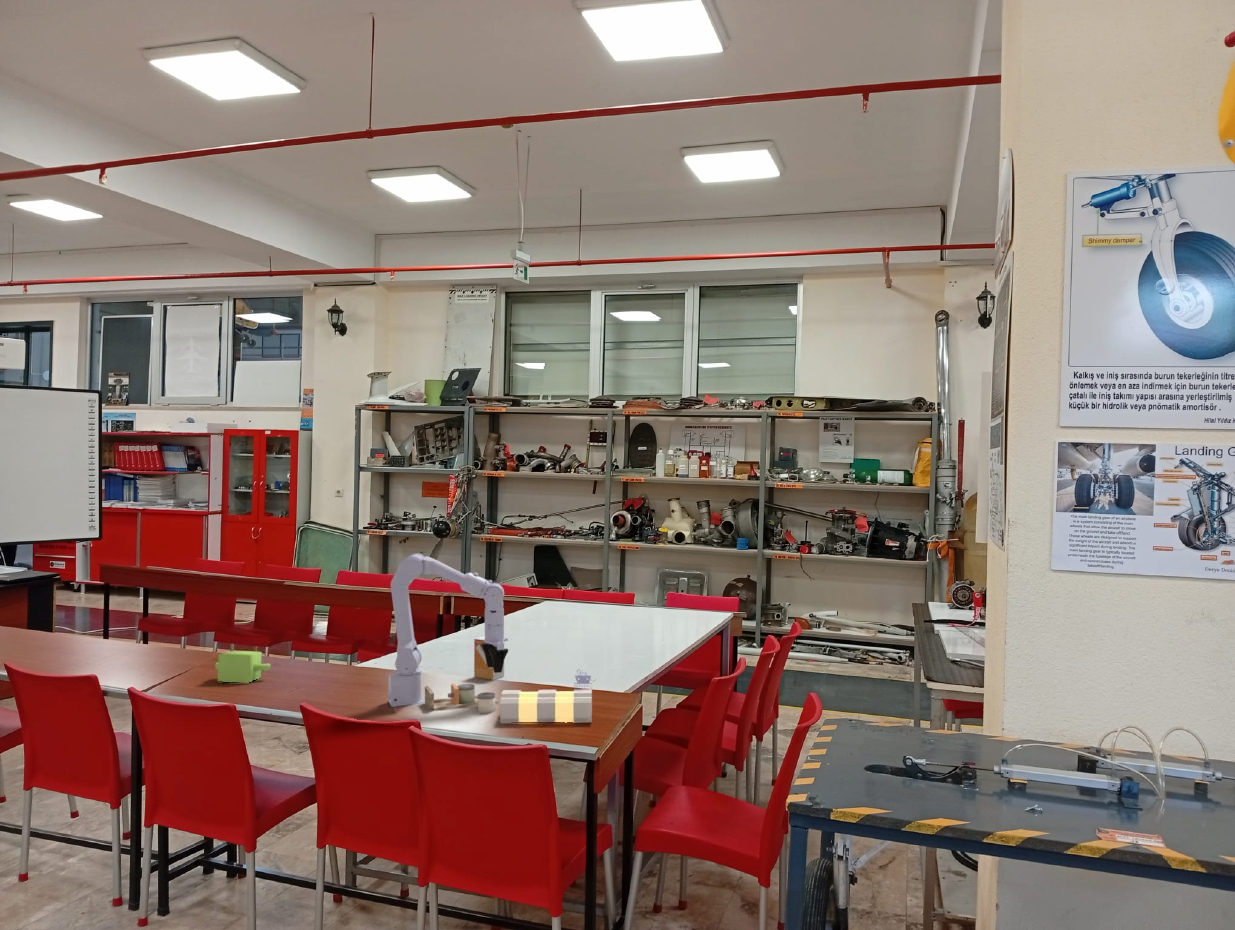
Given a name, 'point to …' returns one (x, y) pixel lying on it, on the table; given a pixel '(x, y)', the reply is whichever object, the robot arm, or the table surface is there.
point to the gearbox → (240, 666)
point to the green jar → (466, 693)
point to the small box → (483, 662)
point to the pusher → (454, 694)
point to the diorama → (548, 705)
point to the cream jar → (486, 702)
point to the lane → (445, 702)
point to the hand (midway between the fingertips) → (494, 669)
